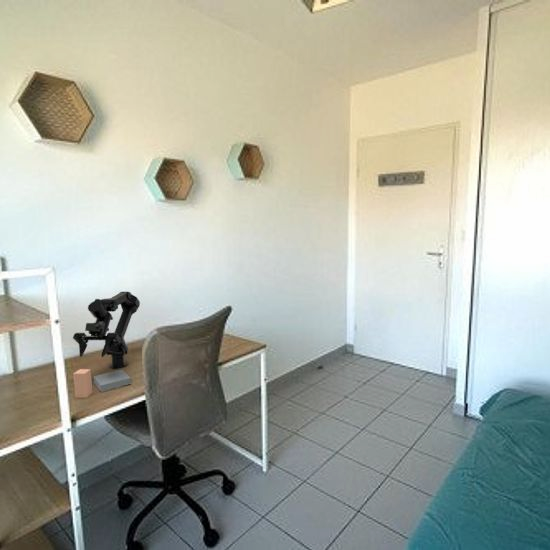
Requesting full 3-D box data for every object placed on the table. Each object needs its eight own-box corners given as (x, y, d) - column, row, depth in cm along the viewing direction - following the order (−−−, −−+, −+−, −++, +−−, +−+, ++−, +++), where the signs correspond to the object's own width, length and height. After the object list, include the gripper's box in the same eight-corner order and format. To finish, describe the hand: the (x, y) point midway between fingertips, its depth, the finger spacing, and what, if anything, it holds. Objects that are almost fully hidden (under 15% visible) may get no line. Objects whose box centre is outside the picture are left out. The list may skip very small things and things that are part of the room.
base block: (94, 382, 167) (93, 376, 167) (122, 375, 174) (122, 369, 174) (101, 392, 158) (100, 385, 157) (131, 384, 165) (130, 377, 164)
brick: (75, 397, 154) (73, 373, 152) (81, 392, 158) (79, 369, 157) (86, 397, 153) (84, 373, 152) (92, 392, 158) (90, 369, 156)
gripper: (73, 314, 165) (60, 347, 155) (116, 314, 164) (105, 348, 155) (84, 327, 174) (72, 359, 164) (125, 327, 173) (115, 359, 163)
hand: (91, 356), depth 161 cm, fingers open, 9 cm apart
